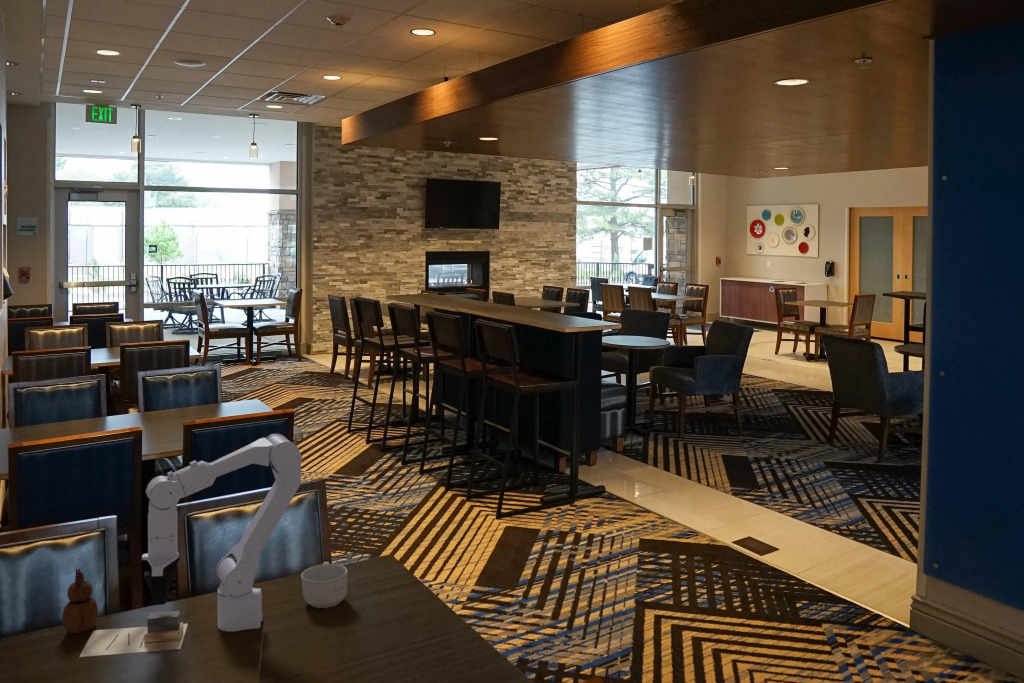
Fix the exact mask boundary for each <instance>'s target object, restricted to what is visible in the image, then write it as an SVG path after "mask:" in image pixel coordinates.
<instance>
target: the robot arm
mask: <svg viewBox="0 0 1024 683" xmlns="http://www.w3.org/2000/svg"><path fill="white" fill-rule="evenodd" d="M303 459H304V458H303V456H302V454H301V452H300V449H299V448H298V446H297V445H296V444H295V443H294V442H291V440H288V438H287V437H286V436H285V435H283V434H280V433H273V434H272V433H271V434H269V435H268V436H266V437H261V438H258V439H257V440H255V441H253V442H251V443H249V444H247V445H245V446H242V447H241V448H239V449H236V450H234V451H233V452H231V453H228V454H226V455H224V456H221V457H219V458H218V459H216V460H214V461H212V462H206V461H204V460H200V461H198V462H197V460H193V461H190V462H189V465H188V466H185V467H184V468H183V467H182V468H181V469H178V470H176V471H174V472H173V471H172V470H170V471H168V472H167V475H158V476H156V477H153V478H152V479H151V480H150V482H148V484H147V487H146V489H145V494H146V497H147V498H148V499H149V501H148V508H147V509H148V514H147V553H143V554H142V556H141V560H142V561H147V562H148V563H149V565H150V567H151V570H148V571H147V570H146V571H144V574H143V578H144V581H146V583H147V586H148V587H149V589H150V593H151V597H152V601H153V605H154V606H158V605H159V606H162V605H166V602H167V599H168V594H169V593H168V592H169V591H170V590H172V587H173V582H174V576H175V572H176V568H177V565H178V563H179V561H180V559H181V553H179V551H178V550H179V549H178V548H179V547H178V542H179V541H178V538H179V537H178V536H179V535H178V526H179V525H178V524H179V523H178V520H179V518H178V508H177V506H178V505H177V504H178V503H179V501H180V499H184V498H186V497H188V496H190V495H193V494H195V493H197V492H200V491H202V490H204V489H206V488H209V487H212V486H213V484H214V483H215V481H216V478H218V477H220V476H223V475H226V474H229V473H230V472H234V471H236V470H238V469H239V470H240V469H241V468H244V467H246V466H249V465H252V464H253V465H258V466H259V465H260V466H265V467H270V468H271V471H272V473H273V476H274V479H275V480H274V483H273V484H272V486H271V488H270V489H269V491H268V492H267V495H266V496H265V498H264V500H263V501H262V503H261V505H260V506H259V508H258V510H257V511H256V513H255V515H254V517H253V518H252V520H251V522H250V523H249V525H248V527H247V529H246V531H245V532H244V533H243V535H242V537H241V539H240V541H239V542H238V543H237V544H236V545H234V546H232V547H231V548H230V550H229V552H227V554H226V555H225V556H224V557H222V558H221V559H220V560H219V561H218V562H217V565H216V569H215V571H216V572H215V573H216V576H217V577H218V578H219V580H220V584H219V586H218V588H217V628H218V629H219V630H220V631H224V632H239V631H245V630H253V629H256V630H257V629H261V624H262V622H263V617H264V616H263V612H262V596H263V595H262V588H260V587H259V588H258V587H257V588H256V587H253V586H254V582H255V574H256V573H257V570H258V569H259V563H260V555H261V554H262V552H263V550H264V548H265V546H266V545H267V543H268V541H269V540H270V538H271V536H272V535H273V533H274V531H275V530H276V527H277V525H278V524H279V522H280V520H281V519H282V517H283V516H284V514H285V512H286V510H287V509H288V507H289V505H290V503H291V501H292V500H293V498H294V497H295V494H296V493H297V491H298V489H299V488H300V486H301V482H302V462H303ZM269 465H270V466H269Z"/></svg>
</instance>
